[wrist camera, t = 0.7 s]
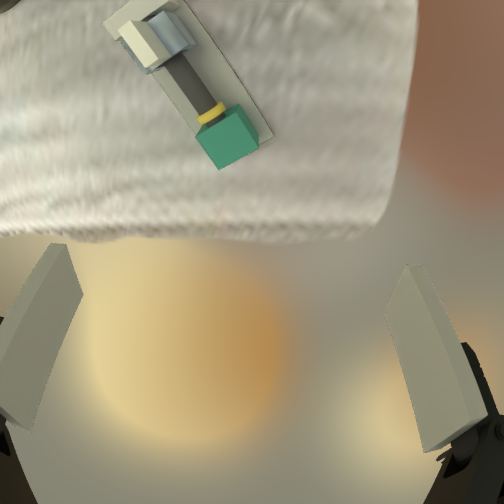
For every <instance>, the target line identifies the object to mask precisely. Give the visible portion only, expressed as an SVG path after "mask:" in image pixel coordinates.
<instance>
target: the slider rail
mask: <svg viewBox="0 0 504 504" xmlns="http://www.w3.org/2000/svg"><path fill="white" fill-rule="evenodd" d="M163 10H164V11H167V12H170V13H174V14H176V15H177V16H178V17H179V19H180V20H181V21H182V23H183V24H184V25H185V27H186V28H187V30H188V31H189V32H190V34H191V35H192V36H193V38H194V39H195V41H196V42H197V44H198V45H196V46H195V47H193V48H192V49H190V50H189V51H187V52H186V53H184V54H183V53H182V52H181V51H180V52H179V53H177V54H176V55H174V56H173V57H171V58H170V59H168V60H167V61H165V62H164V63H163V65H164V66H165V67H163V68H162V69H161V70H159V71H156V72H153V73H151V74H152V75H153V76H154V78H155V79H156V80H157V82H158V83H159V85H160V86H161V87H162V89H163V90H164V91H165V93H166V94H167V96H168V97H169V98H170V100H171V101H172V103H173V104H174V105H175V107H176V108H177V110H178V111H179V112H180V114H181V115H182V117H183V118H184V119H185V121H186V122H187V124H188V125H189V126H190V128H191V129H192V131H193V132H194V133H195V135H196V136H195V137H196V139H197V140H198V142H199V143H200V144H201V146H202V147H203V149H204V150H205V152H206V153H207V154H208V156H209V157H210V159H211V160H212V161H213V163H214V164H215V166H216V167H217V169H218V170H220V169H222V168H224V167H226V166H227V165H229V164H231V163H233V162H234V161H236V160H238V159H240V158H242V157H244V156H245V155H247V154H249V153H251V152H253V151H255V150H256V149H258V148H259V144H261V143H263V142H265V141H266V140H268V139H270V138H272V137H274V134H273V133H272V131H271V129H270V128H269V126H268V124H267V123H266V121H265V120H264V118H263V116H262V115H261V113H260V111H259V110H258V108H257V107H256V105H255V103H254V102H253V100H252V99H251V97H250V96H249V94H248V92H247V91H246V89H245V88H244V86H243V85H242V83H241V82H240V80H239V79H238V77H237V75H236V74H235V72H234V71H233V69H232V68H231V66H230V65H229V63H228V62H227V60H226V59H225V58H224V56H223V55H222V53H221V52H220V50H219V49H218V47H217V46H216V44H215V43H214V42H213V40H212V39H211V37H210V36H209V34H208V33H207V32H206V30H205V29H204V27H203V26H202V25H201V23H200V22H199V20H198V19H197V18H196V16H195V15H194V14H193V12H192V11H191V9H190V8H189V7H188V5H187V4H186V3H185V1H184V0H130V1H129V2H128V3H126V4H125V5H124V6H123V7H121V8H120V9H119V10H118V11H116V12H115V13H114V14H113V15H111V16H110V17H109V18H108V19H107V20H105V21H104V22H103V23H102V24H103V25H104V27H105V28H106V30H107V31H108V32H109V34H110V35H111V36H112V38H113V39H114V40H115V41H120V40H124V39H123V37H122V36H121V34H120V33H119V32H118V29H119V28H121V27H122V26H123V25H124V24H126V23H127V22H128V21H130V20H133V21H142V22H148V21H149V20H151V19H152V18H153V17H155V16H156V15H158V14H159V13H161V12H162V11H163Z"/></svg>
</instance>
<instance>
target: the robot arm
mask: <svg viewBox="0 0 504 504" xmlns="http://www.w3.org/2000/svg"><path fill="white" fill-rule="evenodd" d="M18 1H19V0H0V13H3V12H5V11H6V10H8V9H10V8H11V7H12V6H14V5H15V4H16V3H17V2H18ZM82 297H83V292H82V289H81V287H80V284H79V281H78V279H77V276H76V273H75V270H74V267H73V264H72V261H71V258H70V255H69V252H68V249H67V245H66V244H56V243H51V244H50V245H49V246H48V248H47V250H46V251H45V252H44V254H43V255H42V257H41V258H40V260H39V261H38V263H37V264H36V266H35V268H34V269H33V270H32V272H31V274H30V275H29V277H28V278H27V280H26V282H25V283H24V285H23V286H22V288H21V290H20V291H19V293H18V295H17V297H16V298H15V300H14V302H13V303H12V305H11V307H10V309H9V310H8V312H7V314H6V316H5V318H4V317H0V504H38V503H37V501H36V499H35V497H34V495H33V492H32V491H31V488H30V486H29V484H28V481H27V479H26V477H25V474H24V472H23V469H22V467H21V464H20V462H19V459H18V457H17V454H16V451H15V448H14V445H13V443H12V440H11V437H10V434H9V431H8V429H7V427H6V425H5V422H6V419H7V420H8V421H9V422H10V423H12V424H13V425H14V426H15V427H18V428H20V429H23V430H26V431H28V432H31V431H32V428H33V424H34V421H35V418H36V415H37V411H38V408H39V405H40V402H41V399H42V396H43V393H44V390H45V387H46V384H47V381H48V379H49V376H50V373H51V371H52V368H53V365H54V363H55V360H56V357H57V355H58V352H59V350H60V347H61V345H62V342H63V340H64V338H65V335H66V333H67V330H68V328H69V326H70V323H71V321H72V319H73V316H74V314H75V312H76V310H77V308H78V305H79V303H80V301H81V299H82ZM384 315H385V318H386V321H387V324H388V327H389V330H390V333H391V336H392V339H393V342H394V345H395V348H396V351H397V354H398V358H399V361H400V364H401V367H402V371H403V374H404V378H405V381H406V384H407V388H408V392H409V395H410V399H411V402H412V406H413V410H414V414H415V418H416V422H417V426H418V430H419V434H420V439H421V443H422V448H423V452H424V453H427V452H430V451H434V450H438V449H441V448H443V447H444V446H446V445H447V444H449V443H451V447H452V448H450V449H449V450H447V451H445V452H444V453H442V454H441V455H440V456H438V458H437V459H436V461H439V460H441V459H443V458H445V459H444V461H442V462H441V463H442V466H441V469H440V471H439V473H438V475H437V477H436V479H435V481H434V483H433V486H432V488H431V490H430V492H429V493H428V495H427V497H426V499H425V501H424V503H423V504H504V415H500V414H499V412H498V410H497V408H496V405H495V402H494V399H493V397H492V394H491V391H490V389H489V386H488V383H487V381H486V378H485V377H484V373H483V371H482V368H481V367H480V363H479V361H478V359H477V356H476V354H475V352H474V351H473V350H472V349H471V347H470V346H469V345H468V344H467V342H464V343H460V341H459V339H458V336H457V334H456V332H455V330H454V328H453V325H452V323H451V321H450V319H449V317H448V315H447V313H446V311H445V309H444V306H443V304H442V303H441V300H440V299H439V296H438V294H437V293H436V291H435V289H434V287H433V285H432V283H431V281H430V279H429V278H428V275H427V273H426V272H425V270H424V268H423V266H422V265H409V264H407V265H406V267H405V269H404V271H403V273H402V275H401V278H400V280H399V282H398V284H397V286H396V288H395V290H394V292H393V294H392V296H391V298H390V300H389V302H388V304H387V306H386V308H385V310H384Z"/></svg>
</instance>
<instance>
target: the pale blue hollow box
mask: <svg viewBox="0 0 504 504" xmlns="http://www.w3.org/2000/svg"><path fill="white" fill-rule="evenodd" d="M118 32H119V33H120V34H121V36H122V37H123V39H124V40H123V41H122V42H121V44H122V45H123V46H124V48H125V49H126V51H127V52H128V53H129V55H130V56H131V57H132V59H133V60H134V61H135V63H136V64H137V66H138V67H139V68H140V70H141V71H142V72H143V74H144V75H147V74H150V73H153V72H156V71H159V70H161V69H162V68H163V67H165V66H164V65H163V63H164V62H165V61H167V60H168V59H170V58H171V57H173V56H174V55H176V54H177V53H179V52H180V51H181V52H182V53H183V54H184V53H186V52H187V51H189V50H190V49H192V48H193V47H195V46H196V45H198V44H197V42H196V41H195V39H194V38H193V36H192V35H191V34H190V32H189V31H188V30H187V28H186V27H185V25H184V24H183V23H182V21H181V20H180V19H179V17H178V16H177V15H176V14H174V13H170V12H167V11H164V10H163V11H162V12H161V13H159V14H158V15H156V16H155V17H153V18H152V19H151V20H149V21H148V22H142V21H133V20H130V21H128V22H127V23H126V24H124V25H123V26H122V27H121V28H119V29H118Z"/></svg>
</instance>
